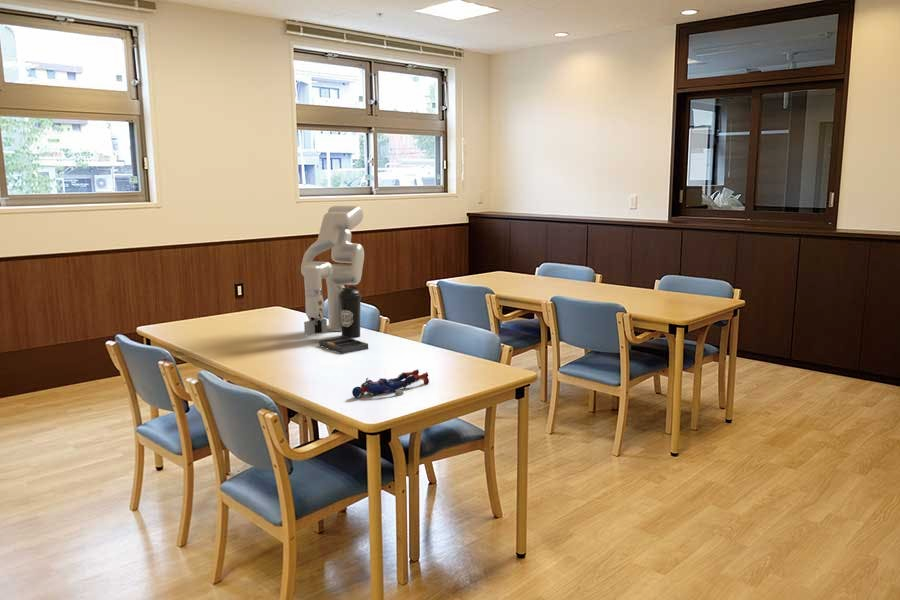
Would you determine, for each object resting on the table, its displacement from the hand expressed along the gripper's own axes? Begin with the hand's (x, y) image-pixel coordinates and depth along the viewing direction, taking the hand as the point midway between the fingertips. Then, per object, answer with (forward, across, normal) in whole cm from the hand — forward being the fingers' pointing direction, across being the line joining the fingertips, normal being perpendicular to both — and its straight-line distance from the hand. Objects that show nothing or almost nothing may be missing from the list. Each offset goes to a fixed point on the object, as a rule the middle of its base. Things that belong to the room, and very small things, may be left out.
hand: (316, 331), depth 312 cm
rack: (+4, -19, -2) cm, 19 cm away
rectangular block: (0, 0, 0) cm, 0 cm away
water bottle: (+5, -3, -16) cm, 17 cm away
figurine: (+1, -82, +19) cm, 84 cm away
